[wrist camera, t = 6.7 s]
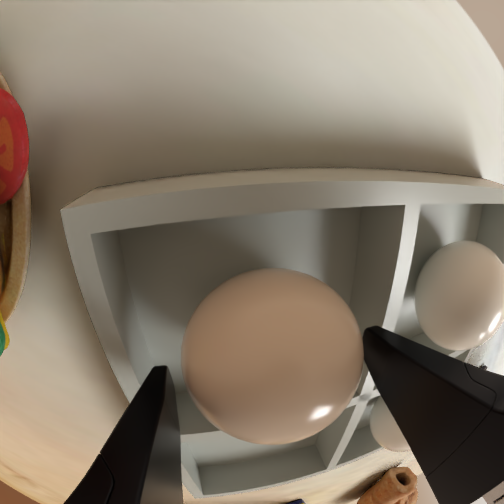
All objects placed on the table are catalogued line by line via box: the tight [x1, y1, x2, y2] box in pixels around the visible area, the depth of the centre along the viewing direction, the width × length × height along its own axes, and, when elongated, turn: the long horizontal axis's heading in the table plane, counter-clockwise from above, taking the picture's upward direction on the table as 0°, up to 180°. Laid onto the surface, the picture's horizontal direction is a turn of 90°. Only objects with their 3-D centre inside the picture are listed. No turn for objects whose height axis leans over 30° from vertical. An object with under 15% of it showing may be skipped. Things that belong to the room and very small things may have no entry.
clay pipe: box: [357, 467, 418, 504], centre depth 31 cm, size 19×11×15 cm
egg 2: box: [414, 240, 504, 351], centre depth 10 cm, size 5×5×5 cm
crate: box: [60, 167, 504, 498], centre depth 12 cm, size 19×19×3 cm
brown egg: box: [181, 268, 364, 445], centre depth 8 cm, size 5×5×5 cm
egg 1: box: [370, 395, 411, 452], centre depth 13 cm, size 5×5×5 cm
